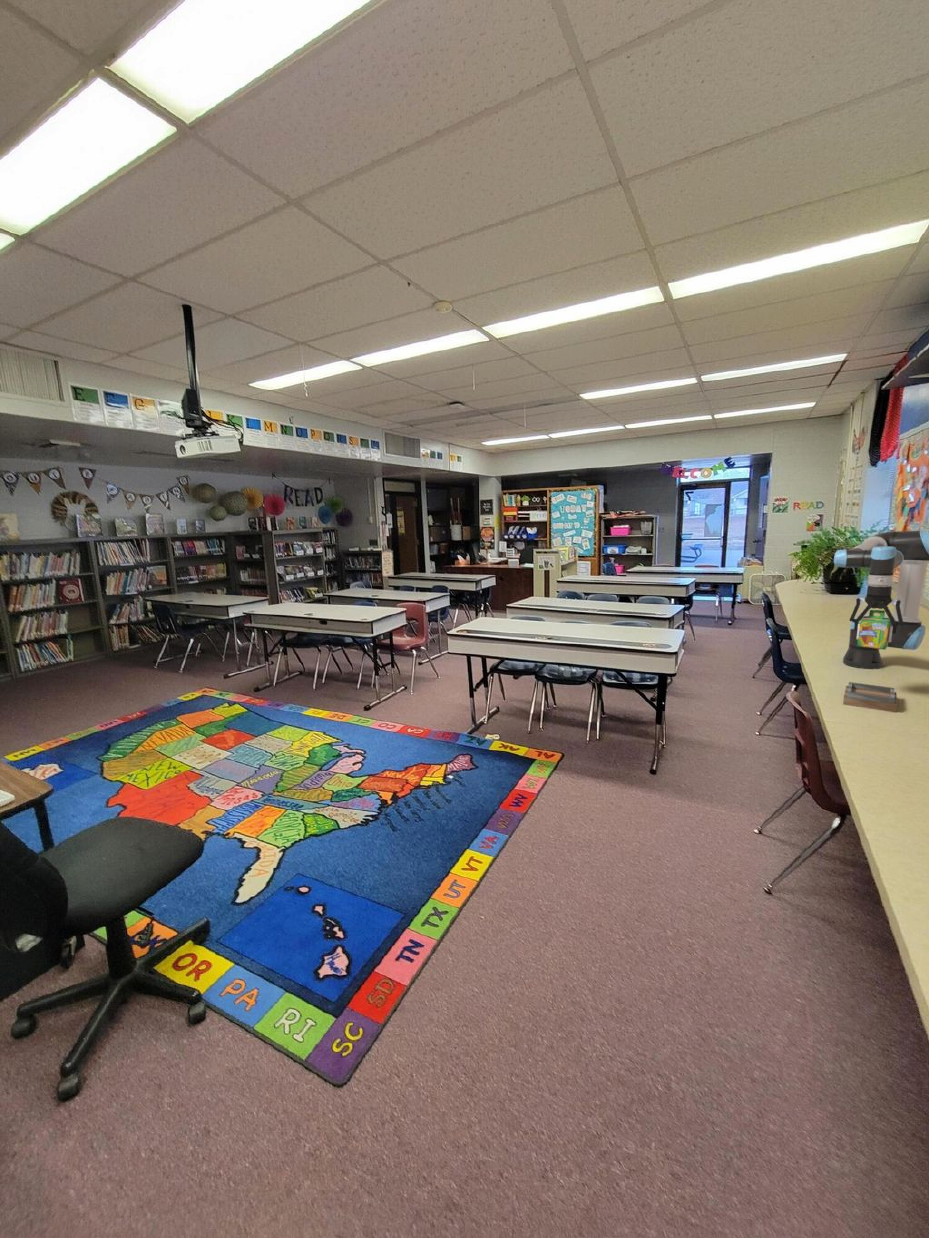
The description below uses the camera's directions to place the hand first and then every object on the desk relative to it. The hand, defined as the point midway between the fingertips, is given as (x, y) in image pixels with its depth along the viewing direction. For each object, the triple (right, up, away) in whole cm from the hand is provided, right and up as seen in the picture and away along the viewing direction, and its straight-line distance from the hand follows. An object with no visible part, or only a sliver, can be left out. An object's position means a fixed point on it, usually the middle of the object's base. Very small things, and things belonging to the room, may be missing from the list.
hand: (873, 639), depth 200 cm
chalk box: (0, -3, +1) cm, 3 cm away
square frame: (-4, -25, -3) cm, 25 cm away
